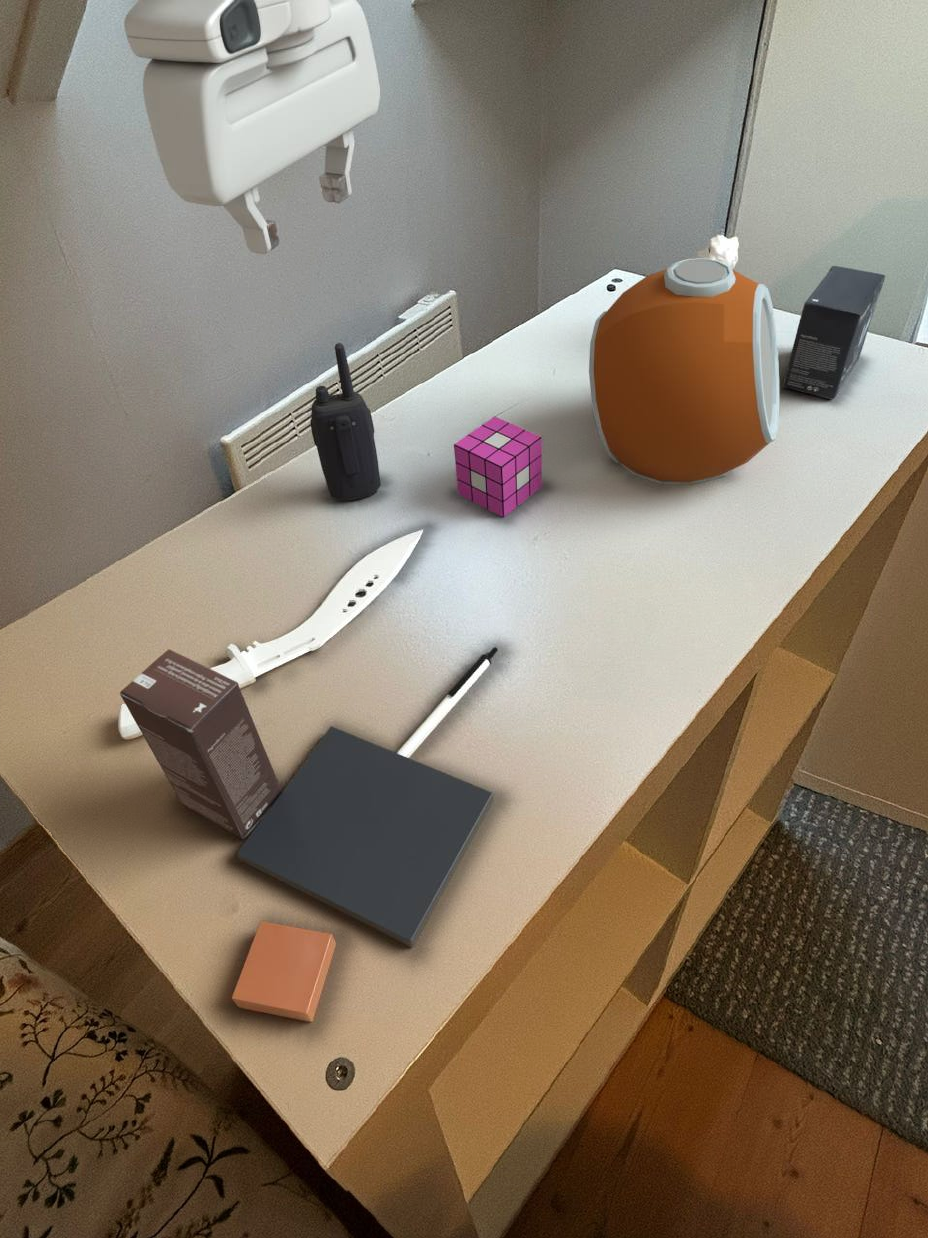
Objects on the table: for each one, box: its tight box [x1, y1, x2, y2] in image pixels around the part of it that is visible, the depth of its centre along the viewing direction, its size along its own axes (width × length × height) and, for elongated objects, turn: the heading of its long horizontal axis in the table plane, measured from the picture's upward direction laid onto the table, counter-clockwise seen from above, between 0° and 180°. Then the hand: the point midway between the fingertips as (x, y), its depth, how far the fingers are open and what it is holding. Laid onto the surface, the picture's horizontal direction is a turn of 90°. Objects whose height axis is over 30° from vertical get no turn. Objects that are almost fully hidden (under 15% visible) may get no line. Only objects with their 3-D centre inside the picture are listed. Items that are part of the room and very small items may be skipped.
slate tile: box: [236, 725, 494, 949], centre depth 54 cm, size 13×11×1 cm
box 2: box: [782, 265, 886, 400], centre depth 84 cm, size 9×6×10 cm, turn 147°
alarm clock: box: [588, 257, 780, 485], centre depth 74 cm, size 19×18×17 cm
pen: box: [396, 646, 499, 759], centre depth 59 cm, size 1×19×1 cm, turn 144°
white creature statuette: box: [696, 234, 740, 270], centre depth 89 cm, size 10×9×12 cm
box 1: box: [119, 649, 283, 840], centre depth 52 cm, size 6×4×12 cm
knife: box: [117, 529, 424, 740], centre depth 67 cm, size 30×2×8 cm
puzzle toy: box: [453, 415, 543, 518], centre depth 76 cm, size 6×6×6 cm
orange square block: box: [231, 920, 337, 1023], centre depth 48 cm, size 4×4×2 cm
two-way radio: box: [309, 342, 382, 501], centre depth 73 cm, size 6×4×15 cm
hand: (303, 223), depth 61 cm, fingers open, 8 cm apart
